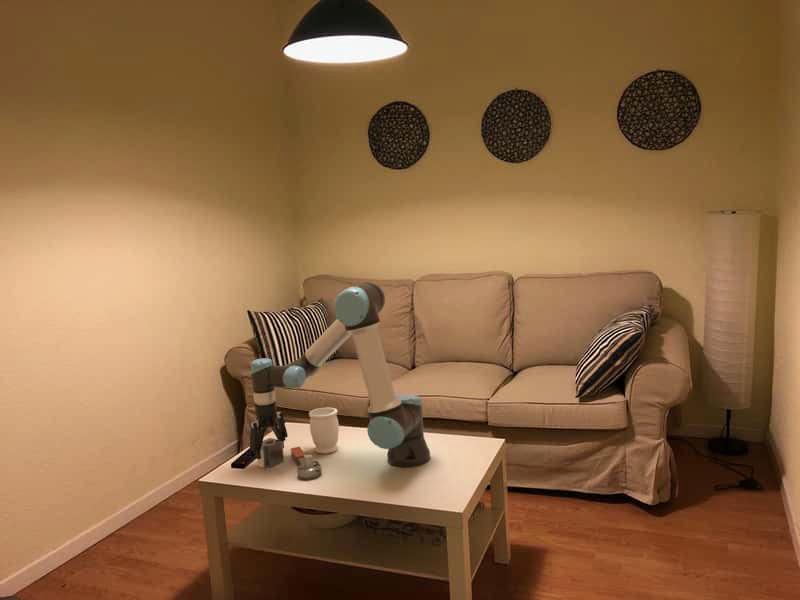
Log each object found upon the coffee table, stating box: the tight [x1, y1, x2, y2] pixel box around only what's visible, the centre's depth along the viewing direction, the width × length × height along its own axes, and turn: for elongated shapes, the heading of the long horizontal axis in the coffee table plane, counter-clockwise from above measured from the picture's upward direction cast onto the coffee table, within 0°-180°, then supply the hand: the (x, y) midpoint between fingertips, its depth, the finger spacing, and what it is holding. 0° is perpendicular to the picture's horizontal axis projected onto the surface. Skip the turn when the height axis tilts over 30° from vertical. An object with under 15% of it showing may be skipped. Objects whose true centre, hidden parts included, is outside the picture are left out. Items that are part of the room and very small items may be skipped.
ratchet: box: [290, 446, 323, 482], centre depth 243 cm, size 26×8×7 cm, turn 21°
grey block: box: [261, 437, 284, 468], centre depth 248 cm, size 6×6×8 cm
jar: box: [308, 407, 340, 455], centre depth 257 cm, size 11×10×15 cm
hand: (271, 462), depth 249 cm, fingers open, 8 cm apart
